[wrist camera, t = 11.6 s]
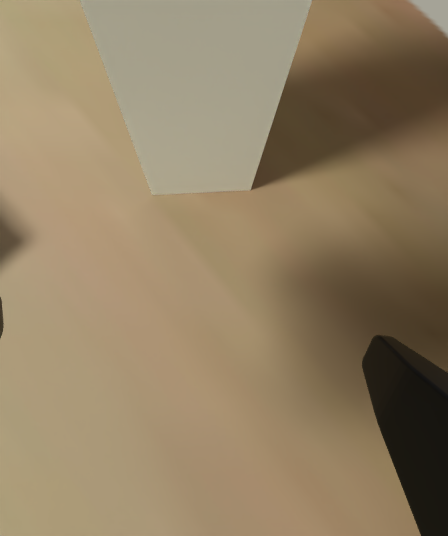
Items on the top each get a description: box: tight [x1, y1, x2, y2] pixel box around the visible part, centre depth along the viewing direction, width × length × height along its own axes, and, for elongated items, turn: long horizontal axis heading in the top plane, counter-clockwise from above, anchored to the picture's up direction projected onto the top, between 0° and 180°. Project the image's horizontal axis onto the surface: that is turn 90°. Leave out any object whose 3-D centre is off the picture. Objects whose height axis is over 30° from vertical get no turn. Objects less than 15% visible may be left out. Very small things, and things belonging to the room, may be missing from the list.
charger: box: [80, 0, 312, 195], centre depth 12 cm, size 4×4×14 cm
